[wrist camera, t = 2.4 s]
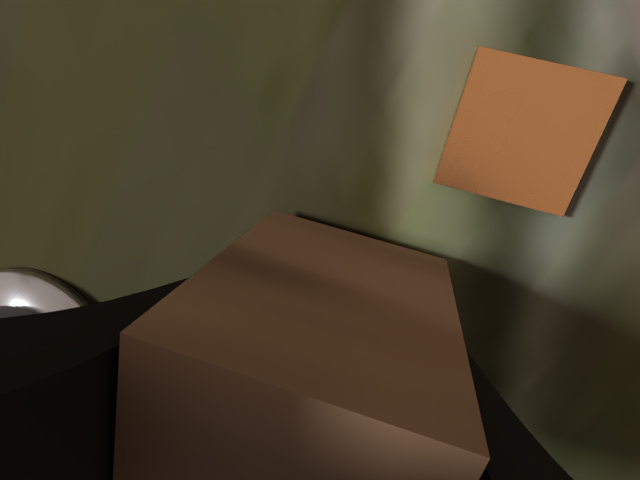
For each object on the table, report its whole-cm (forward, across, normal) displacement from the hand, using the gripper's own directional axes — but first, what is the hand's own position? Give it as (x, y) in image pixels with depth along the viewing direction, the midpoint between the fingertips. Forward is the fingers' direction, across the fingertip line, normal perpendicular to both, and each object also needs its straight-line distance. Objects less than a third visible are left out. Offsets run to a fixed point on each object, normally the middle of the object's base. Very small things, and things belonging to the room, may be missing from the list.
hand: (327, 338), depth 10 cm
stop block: (+1, 0, 0) cm, 1 cm away
